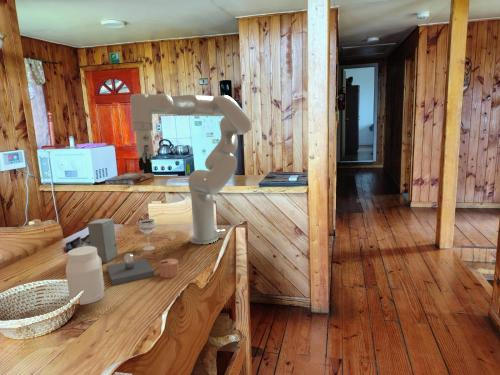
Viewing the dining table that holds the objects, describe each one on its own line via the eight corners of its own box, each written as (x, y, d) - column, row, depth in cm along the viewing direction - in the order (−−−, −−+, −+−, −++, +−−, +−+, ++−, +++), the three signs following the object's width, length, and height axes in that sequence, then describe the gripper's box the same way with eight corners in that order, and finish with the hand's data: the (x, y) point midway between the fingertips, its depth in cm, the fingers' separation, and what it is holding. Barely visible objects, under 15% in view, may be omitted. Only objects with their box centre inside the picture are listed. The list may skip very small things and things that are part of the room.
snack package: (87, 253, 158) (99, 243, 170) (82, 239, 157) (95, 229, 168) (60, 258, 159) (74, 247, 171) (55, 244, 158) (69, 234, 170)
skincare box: (107, 263, 145) (103, 223, 142) (90, 262, 147) (86, 223, 144) (119, 255, 153) (115, 217, 151) (103, 254, 155) (99, 217, 152)
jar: (103, 301, 115) (97, 254, 112) (68, 307, 112) (62, 259, 109) (105, 285, 126) (100, 242, 123) (73, 290, 123) (68, 246, 120)
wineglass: (137, 250, 159) (134, 222, 157) (147, 244, 165) (145, 218, 163) (150, 251, 157) (148, 223, 154) (160, 246, 163) (158, 219, 160)
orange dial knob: (175, 268, 138) (174, 256, 137) (180, 275, 133) (180, 261, 132) (158, 272, 135) (157, 259, 134) (162, 279, 130) (161, 265, 129)
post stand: (145, 262, 145) (144, 245, 143) (154, 276, 132) (153, 257, 131) (106, 270, 138) (104, 252, 137) (112, 285, 126) (110, 265, 125)
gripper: (157, 127, 139) (160, 173, 142) (148, 126, 154) (151, 168, 157) (136, 127, 136) (139, 175, 139) (129, 127, 151) (132, 169, 154)
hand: (145, 171), depth 148 cm, fingers open, 9 cm apart
